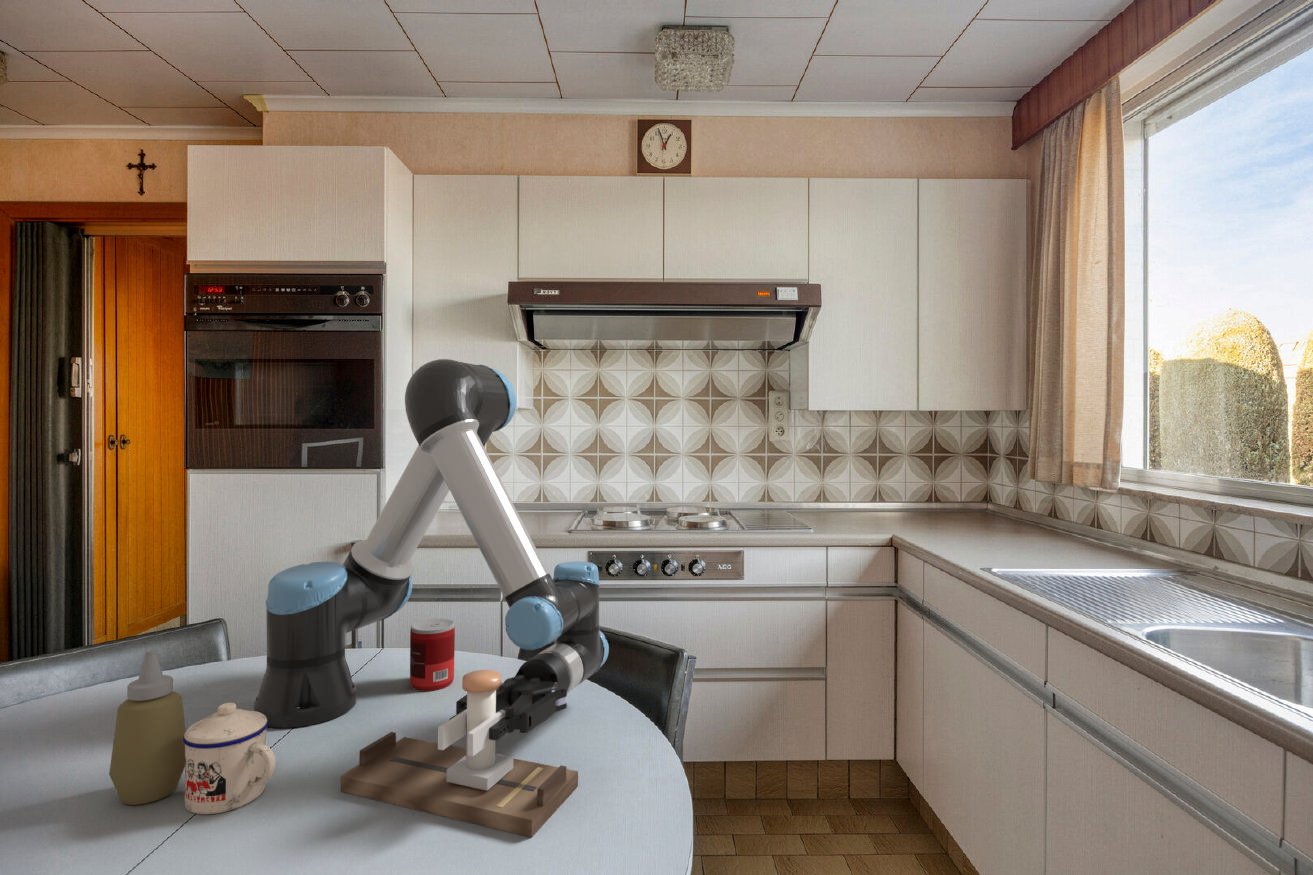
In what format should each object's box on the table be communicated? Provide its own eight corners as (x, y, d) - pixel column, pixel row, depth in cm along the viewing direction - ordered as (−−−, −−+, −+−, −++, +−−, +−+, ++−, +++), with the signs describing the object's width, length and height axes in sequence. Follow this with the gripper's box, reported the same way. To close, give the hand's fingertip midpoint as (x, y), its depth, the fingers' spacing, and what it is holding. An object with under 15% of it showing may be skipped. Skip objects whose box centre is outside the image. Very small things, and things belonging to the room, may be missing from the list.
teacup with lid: (163, 809, 82) (164, 714, 82) (230, 773, 91) (231, 687, 91) (240, 827, 79) (241, 728, 79) (301, 788, 87) (302, 698, 87)
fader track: (340, 791, 87) (340, 760, 87) (404, 750, 98) (404, 722, 98) (531, 837, 78) (532, 802, 78) (577, 786, 89) (578, 756, 89)
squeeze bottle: (125, 818, 80) (126, 668, 80) (97, 798, 84) (98, 655, 84) (200, 788, 87) (201, 650, 87) (171, 771, 91) (172, 639, 91)
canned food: (460, 676, 128) (461, 618, 128) (443, 692, 120) (444, 631, 120) (421, 674, 129) (422, 617, 128) (402, 690, 121) (402, 629, 121)
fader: (446, 781, 85) (447, 681, 85) (474, 759, 91) (475, 665, 91) (487, 790, 83) (488, 687, 83) (513, 767, 89) (514, 671, 89)
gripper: (598, 708, 101) (514, 785, 79) (502, 692, 107) (399, 760, 84) (598, 658, 101) (515, 721, 79) (502, 645, 106) (399, 700, 84)
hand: (455, 741), depth 82 cm, fingers closed on fader, 4 cm apart
